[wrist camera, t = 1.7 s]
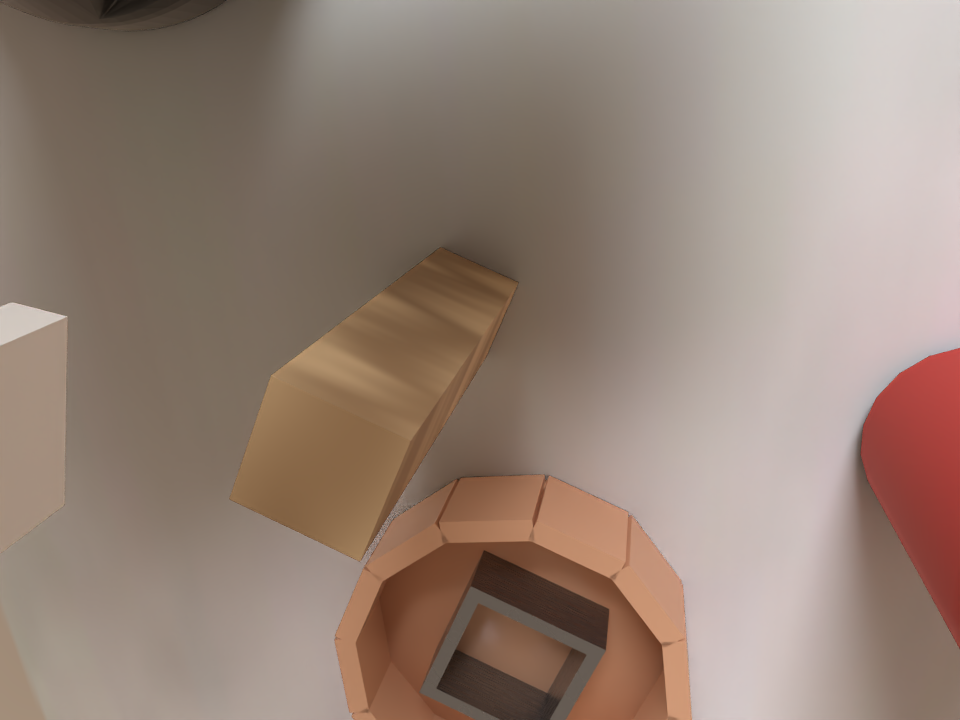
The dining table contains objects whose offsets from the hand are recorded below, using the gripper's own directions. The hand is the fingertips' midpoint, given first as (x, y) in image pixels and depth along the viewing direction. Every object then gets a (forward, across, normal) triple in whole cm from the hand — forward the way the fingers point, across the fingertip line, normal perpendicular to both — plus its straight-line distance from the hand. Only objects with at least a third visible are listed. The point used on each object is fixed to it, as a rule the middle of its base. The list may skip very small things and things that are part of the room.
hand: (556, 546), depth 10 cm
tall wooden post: (+19, -5, -3) cm, 20 cm away
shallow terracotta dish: (+19, 0, -16) cm, 25 cm away
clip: (+19, 0, -16) cm, 25 cm away
